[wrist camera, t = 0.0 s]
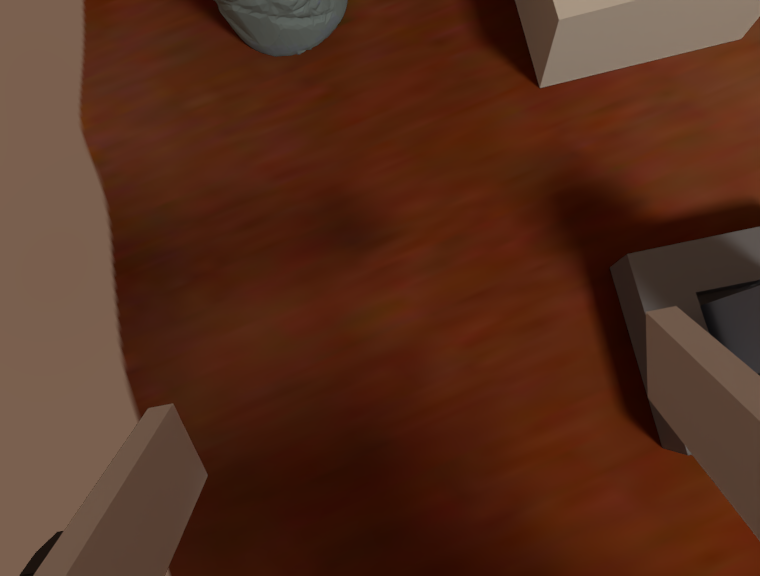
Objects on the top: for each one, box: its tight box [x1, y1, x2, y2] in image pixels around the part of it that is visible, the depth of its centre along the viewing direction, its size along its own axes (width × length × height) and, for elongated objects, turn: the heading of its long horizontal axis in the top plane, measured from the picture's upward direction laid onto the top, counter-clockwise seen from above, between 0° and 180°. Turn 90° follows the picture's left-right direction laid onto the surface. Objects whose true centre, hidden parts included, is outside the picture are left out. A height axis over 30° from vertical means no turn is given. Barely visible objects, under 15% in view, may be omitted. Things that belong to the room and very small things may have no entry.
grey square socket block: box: [610, 227, 760, 455], centre depth 26 cm, size 10×10×3 cm
